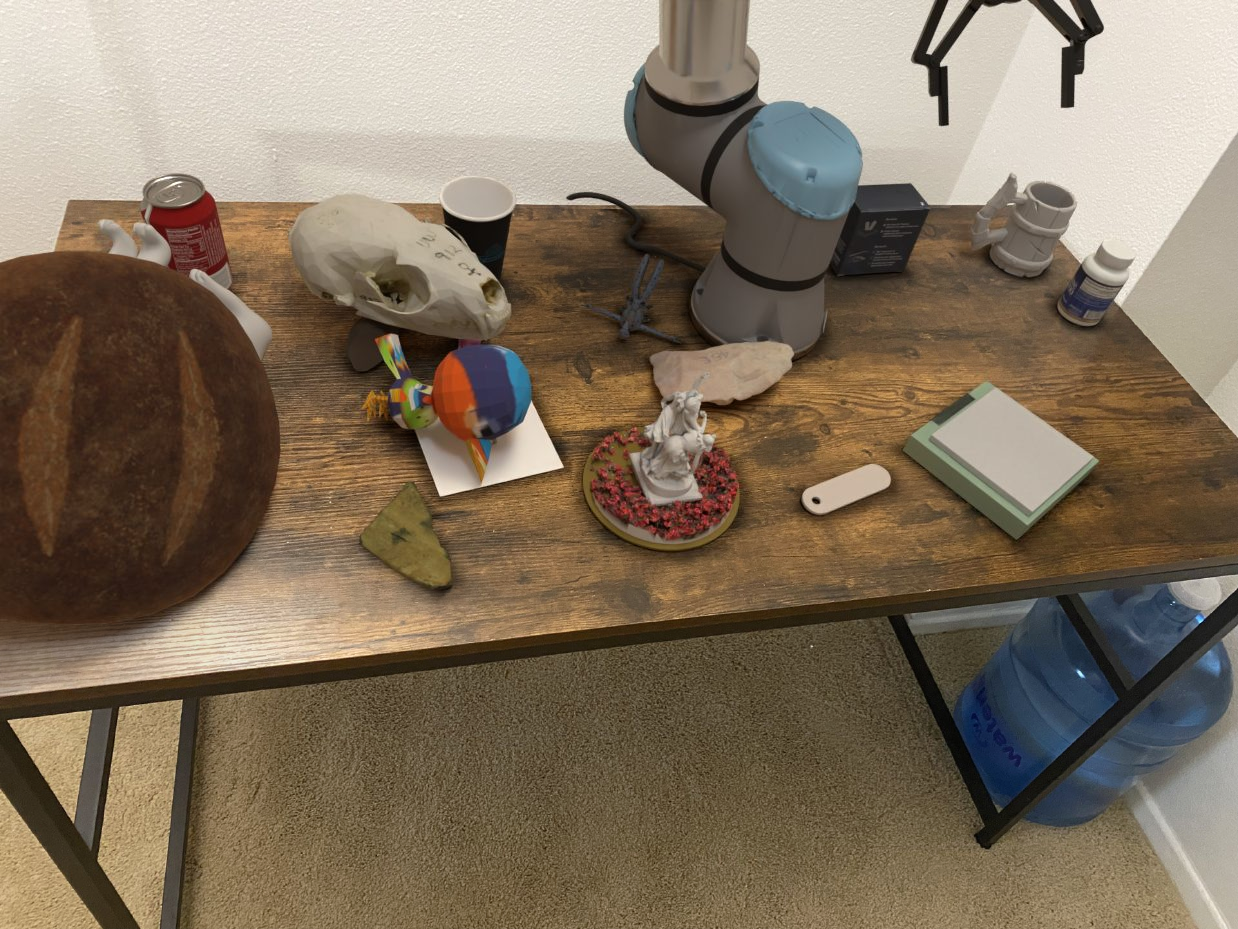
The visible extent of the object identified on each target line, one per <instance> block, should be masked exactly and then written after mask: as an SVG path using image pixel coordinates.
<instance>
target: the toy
mask: <svg viewBox="0 0 1238 929" xmlns="http://www.w3.org/2000/svg"><path fill="white" fill-rule="evenodd" d="M375 341H376V343H377V345H378V347H379V350H380V352H381V354H382V356H383V359H382V360H383V361H384V363H385V365H387V367H388V368H389V370H390V371H391V373H392V374H393V375H394V377H395V379H396V380H395V381H394V382H393V384H392V385H391V386H390V388H389V389H388V394H387V395H385V393H384V392H383V391H382V390H380V395H378V394H375V393H374V391H373V389H371V390H370V391H369V393H368V395H367V396H366V400H365V401H364V403H363V405H362V407H361V410H365V409H367V411H366V412H367V414H366V415H367V416H366V420H367V423H368V422H369V420H370V418H371V416H372V414H373V417H374V418H375V420H376V419H377V418H376V405H377V404H379V406H378V412H379V413H378V419H380V418H381V416H382V415H384V418H385V420H386V421H388V417H389V414H390V417H391V419H392V420H393V421H395V422H396V424H397V425H399V427H400V428H402V429H405V430H415V429H419V428H426V427H428V426H430V425H431V424H433V423H434V422H435V421H436V419H437V418H438V417H439V419H440V421H441V422H442V424H443V425H444V426H445V428H446V429H448V430H449V431H450V432H451V433H453V434H454V435H455V436H457V437H458V438H459V439H461V440H463V441H465V442H466V444H467V447H468V450H469V453H470V456H471V458H472V461H473V463H474V465H475V467H476V470H477V472H478V474H479V478H480V482H481V484H482V480H483V477H484V474H485V470H486V467H487V464H488V461H489V457H490V451H491V446H492V441H493V439H495V438H497V437H500V436H502V435H504V434H506V433H508V432H509V431H511V430H512V429H514V428H515V427H516V426H518V425H519V424H521V423H522V422H523V421H524V418H525V416H526V413H527V411H528V408H529V406H530V403H531V401H532V389H533V388H532V383H531V378H530V374H529V370H528V369H527V367H526V366H525V364H524V363H523V361H522V360H521V358H520V357H519V355H518V354H517V353H516V352H515V351H513V350H511V349H508V348H506V347H503V346H500V345H494V344H480V345H472V346H466V347H463V348H460V349H458V348H457V349H454V350H452V351H450V352H449V353H448V354H447V355H446V356H445V357H444V358H443V360H442V361H441V362H440V363H439V364H438V366H437V368H436V370H435V373H434V378H433V383H432V384H433V385H429V384H424V383H422V382H420V381H418V380H417V379H416V378H414V377H413V374H412V372H411V370H410V368H409V366H408V364H407V360H406V358H405V355H404V353H403V351H402V350H403V349H402V346H401V342H400V339H399V335H395V334H388V335H385V336H382V337H379V338H377V339H375Z"/></svg>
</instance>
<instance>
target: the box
mask: <svg viewBox="0 0 1238 929" xmlns="http://www.w3.org/2000/svg"><path fill="white" fill-rule="evenodd" d="M931 210H932V207H931V206H930V205H929V203H928V202H927V200H925V198H924V197H923V196H922V195H921V193H920V192H919V190H917V189H916V187H915V186H914V184H913V183H911V182H908V183H905V182H904V183H883V184H882V183H881V184H880V183H879V184H860V185H859V184H858V187H857V194H856V198H855V201H854V203H853V205H852V207H851V208H850V210H849V213H848V216H847V218H846V221H845V224H844V226H843V229H842V232H841V234H840V237H839V240H838V242H837V245H836V248H835V250H834V253H833V256H832V258H831V261H830V263H829V265H830V266H831V268H832V270H833V271H834V273H835V274H836V276H837V277H842V276H845V275H846V276H847V275H865V274H876V273H877V274H879V273H880V274H881V273H896V272H897V273H901V272H902V273H903V272H904V271H905V270H906V268H907V265H908V263H909V260H910V258H911V256H912V253H913V250H914V248H915V245H916V244H917V241H918V239H919V236H920V234H921V232H922V230H923V227H924V225H925V223H926V220H927V218H928V216H929V214H930V211H931Z"/></svg>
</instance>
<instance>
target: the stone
mask: <svg viewBox="0 0 1238 929" xmlns="http://www.w3.org/2000/svg"><path fill="white" fill-rule="evenodd" d="M415 483H416V482H415V481H408V482H405V484H404V485H403V487H402V489H401V490H400V491H399V492H398V493H397V495H395V496H394V498H393V499H392V500H391V501H390V502H389V503H387V505H386V506H385V507H383V509H381V510H380V511H379V512H378V513H377V515H376V516H375V518H374V519H373V520H372V522H371V523H369V524H368V526H367V525H366V527H364V529H363V531H361V533H360V535H359V544H360V546H362V548H364V549H365V550H366V551H367V552H369V553H370V554H371V555H373V556H374V557H375V558H377V559H378V560H379V561H381V563H383V564H384V565H385V566H386V567H388V568H390V569H391V570H393V571H394V572H395V573H397V574H399V575H400V576H402V577H403V578H405V579H408V580H411V581H412V582H413V583H416V584H417V585H420V586H422V587H424V588H426V589H428V590H432V591H440V590H444V589H447V588H451V587H452V586H453V584H454V580H453V576H452V564H451V563H452V559H451V558H450V557H451V556H450V554H449V551H447V549H446V548H444V547H441V543H440V542H441V541H440V539H439V538H438V535H437V533H436V531H435V530H434V527H433V526H434V525H433V523H432V522H433V515H432V514H431V511H430V508H429V507H428V506H427V505H426V504H425V502H424V500H423V498H422V496H421V493H420V492H419V490H418V487H417V485H416V484H415Z"/></svg>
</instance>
